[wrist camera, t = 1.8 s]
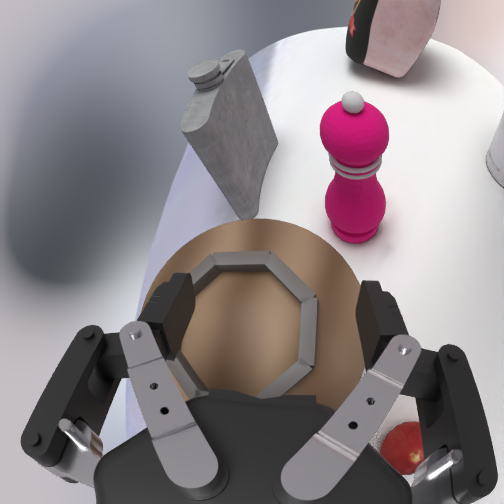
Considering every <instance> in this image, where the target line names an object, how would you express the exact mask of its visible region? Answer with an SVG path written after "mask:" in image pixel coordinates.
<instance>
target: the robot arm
mask: <svg viewBox="0 0 504 504" xmlns="http://www.w3.org/2000/svg"><path fill="white" fill-rule="evenodd" d="M486 162H487V166H488V168H489V170H490V172H491V174H492V175H493V177H494V178H495V179H496V181H497V182H498V183H499V184H500V185H502V186H503V187H504V112H503V115H502V118H501V120H500V123H499V126H498V128H497V131H496V133H495V136H494V138H493V141H492V143H491V146H490V148H489V151H488V153H487V156H486ZM195 304H196V300H195V294H194V288H193V282H192V276H191V274H190V273H180V272H174V274H173V275H172V277H171V279H170V280H169V282H163V283H162V284H161V285H159V286H158V287H157V288H156V289H155V291H154V293H153V294H152V296H151V297H150V299H149V302H147V304H146V306H145V307H144V309H143V311H142V313H141V314H140V316H139V318H138V319H137V321H134V322H130V323H128V324H127V325H125V326H124V327H123V328H122V329H121V331H120V332H119V333H108V334H104V333H103V331H102V329H101V328H100V327H99V326H95V325H90V326H86V327H84V328H82V329H81V330H80V331H79V332H78V333H77V335H76V336H75V338H74V340H73V341H72V343H71V344H70V346H69V348H68V349H67V351H66V353H65V354H64V356H63V358H62V359H61V361H60V363H59V364H58V367H57V368H56V370H55V372H54V373H53V375H52V377H51V379H50V381H49V382H48V384H47V386H46V388H45V389H44V391H43V393H42V395H41V397H40V399H39V401H38V403H37V405H36V407H35V409H34V411H33V413H32V415H31V417H30V419H29V421H28V423H27V425H26V427H25V429H24V431H23V434H22V436H21V446H22V449H23V450H24V452H25V453H26V454H27V455H29V456H30V457H32V458H33V459H34V460H35V461H37V462H38V464H40V465H41V466H42V467H44V468H46V469H47V470H49V471H50V472H51V473H53V474H55V475H56V476H59V477H61V478H62V479H64V480H66V481H67V482H69V483H78V482H80V483H82V484H85V485H87V486H90V487H92V488H95V493H96V504H471V503H473V502H475V501H477V500H479V499H481V498H483V497H485V496H487V495H488V494H490V493H491V492H492V491H493V489H494V488H495V486H496V483H497V479H498V473H497V467H496V461H495V455H494V450H493V446H492V441H491V436H490V432H489V428H488V424H487V420H486V416H485V413H484V409H483V406H482V402H481V399H480V396H479V392H478V389H477V386H476V383H475V380H474V377H473V374H472V371H471V369H470V366H469V363H468V360H467V358H466V355H465V353H464V352H463V351H462V350H461V349H460V348H459V347H457V346H455V345H451V344H448V345H444V346H442V347H441V348H440V350H439V352H435V351H430V350H426V349H422V348H421V346H420V344H419V342H418V341H417V340H416V339H415V338H413V337H411V336H409V334H408V331H407V329H406V326H405V323H404V321H403V318H402V315H401V314H400V310H399V308H398V305H397V302H396V300H395V298H394V297H393V296H392V295H391V294H390V293H389V292H388V291H382V289H381V286H380V283H379V281H366V280H363V281H362V283H361V287H360V291H359V296H358V300H357V305H356V312H355V316H356V322H357V327H358V332H359V337H360V342H361V347H362V352H363V357H364V363H365V368H366V374H365V375H364V376H363V378H362V379H361V380H360V382H359V383H358V384H357V386H356V387H355V388H354V390H353V391H352V392H351V394H350V395H349V396H348V397H347V399H346V400H345V401H344V402H343V404H342V405H341V406H340V407H339V409H338V410H337V411H336V410H334V409H332V408H331V407H328V406H326V405H323V404H321V403H316V395H285V396H279V397H272V398H266V399H260V398H257V397H253V396H250V395H247V394H244V393H241V392H237V391H232V390H223V389H215V388H210V390H209V393H208V395H204V396H199V397H195V398H192V399H190V400H187V401H184V399H183V397H182V395H181V393H180V391H179V389H178V387H177V385H176V383H175V381H174V379H173V377H172V375H171V373H170V371H169V369H168V366H167V364H166V362H165V361H166V360H171V361H175V358H176V355H177V353H178V350H179V348H180V345H181V343H182V340H183V338H184V335H185V333H186V330H187V328H188V325H189V323H190V320H191V318H192V315H193V313H194V310H195ZM122 378H130V380H131V383H132V386H133V389H134V392H135V395H136V398H137V401H138V404H139V406H140V409H141V412H142V415H143V417H144V420H145V422H146V425H147V428H145V429H144V430H142V431H141V432H139V433H138V434H136V435H135V436H133V437H132V438H130V439H129V440H127V441H125V442H124V443H122V444H121V445H119V446H118V447H116V448H114V449H113V450H111V451H109V452H108V453H107V454H105V455H104V456H103V455H102V451H103V443H102V441H101V439H100V438H99V434H100V432H101V429H102V426H103V423H104V421H105V418H106V415H107V413H108V411H109V408H110V406H111V403H112V401H113V398H114V396H115V393H116V391H117V388H118V386H119V383H120V381H121V379H122ZM399 394H402V395H406V396H411V397H415V398H416V404H417V410H418V416H419V422H420V429H421V437H422V445H423V453H424V461H423V462H422V463H421V464H419V466H418V467H417V469H416V471H415V476H414V482H413V484H412V486H411V487H410V485H409V484H408V482H407V481H406V479H405V478H404V477H403V476H402V475H401V474H400V473H399V472H398V471H396V470H395V469H394V468H393V467H392V466H391V465H390V464H389V463H388V462H387V461H386V460H385V459H384V458H383V457H382V456H381V455H380V454H379V453H378V452H377V451H376V450H375V449H374V448H373V447H372V446H371V445H370V444H369V443H368V442H369V441H370V439H371V438H372V437H373V435H374V434H375V432H376V431H377V429H378V428H379V426H380V425H381V423H382V422H383V420H384V418H385V417H386V415H387V414H388V412H389V410H390V409H391V407H392V405H393V404H394V402H395V400H396V399H397V397H398V395H399ZM102 456H103V457H102Z"/></svg>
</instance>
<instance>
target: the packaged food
mask: <svg viewBox="0 0 504 504" xmlns="http://www.w3.org/2000/svg"><path fill="white" fill-rule="evenodd" d="M440 3H441V0H356V2H355V5H354V8H353V12H352V15H351V18H350V22H349V26H348V30H347V36H346V53H347V55H348V57H349V58H351V59H352V60H354V61H356V62H358V63H360V64H363V65H366V66H369V67H372V68H374V69H377V70H379V71H382V72H384V73H386V74H389V75H391V76H394V77H397V78H400V77H402V76H404V75H405V74H406V73H407V72H408V71H409V69H410V68H411V67H412V65H413V64H414V62H415V61H416V59H417V58H418V57H419V55H420V54H421V52H422V51H423V49H424V47H425V46H426V44H427V43H428V41H429V39H430V37H431V35H432V33H433V31H434V28H435V26H436V22H437V19H438V15H439V10H440Z"/></svg>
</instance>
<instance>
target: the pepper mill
mask: <svg viewBox="0 0 504 504" xmlns="http://www.w3.org/2000/svg"><path fill="white" fill-rule="evenodd" d="M320 137H321V140H322V143H323V145H324V147H325V149H326V150H327V151H328V154H329V161H330V164H331V166H332V168H333V169H334V170H335V176H334V179H333V180H332V182H331V183H330V185H329V186H328V189H327V192H326V195H325V209H326V213H327V215H328V217H329V219H330V220H331V225H332V228H333V230H334V232H335V233H336V235H337V236H338V237H339V238H341V239H342V240H344V241H346V242H349V243H362V242H365V241H367V240H369V239H370V238H372V237H373V236H374V235H375V233H376V231H377V229H378V225H379V223H380V222H381V220H382V218H383V216H384V214H385V208H386V200H385V195H384V191H383V189H382V187H381V185H380V184H379V182H378V181H377V178H376V172H377V171H378V170H379V168H380V166H381V162H382V159H381V158H382V154H383V153H384V151H385V149H386V148H387V145H388V141H389V129H388V124H387V122H386V119H385V118H384V116H383V114H382V113H381V112H380V111H379V110H378V109H377V108H376V107H374V106H373V105H371V104H369V103H367V102H365V101H364V100H363V98H362V96H361V95H360V94H359V93H357V92H353V91H351V92H347V93H346V94H344V95H343V97H342V101H340V102H337V103H335V104H334V105H332V106H331V107H329V108H328V109H327V110H326V112H325V113H324V115H323V117H322V119H321V123H320Z"/></svg>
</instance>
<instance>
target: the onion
mask: <svg viewBox="0 0 504 504" xmlns="http://www.w3.org/2000/svg"><path fill="white" fill-rule="evenodd" d="M380 455H381V456H382V457H383V458H384V459H385V460H386V461H387V462H388V463H389V464H390V465H391V466H392V467H393V468H394V469H395V470H396V471H398V472H399V473H400V474H401V475H411V474H413V473H415V471H416V469H417V467H418V466H419V464H421V463H422V462H423V461H424V453H423V445H422V437H421V429H420V422H405V423H403V424H401V425H398V426H396V427H395V428H394V429H393V430H392V431H391V432H389V433H388V435H387V436H386V438H385V440H384V441H383V443H382V448H381V453H380Z"/></svg>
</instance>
